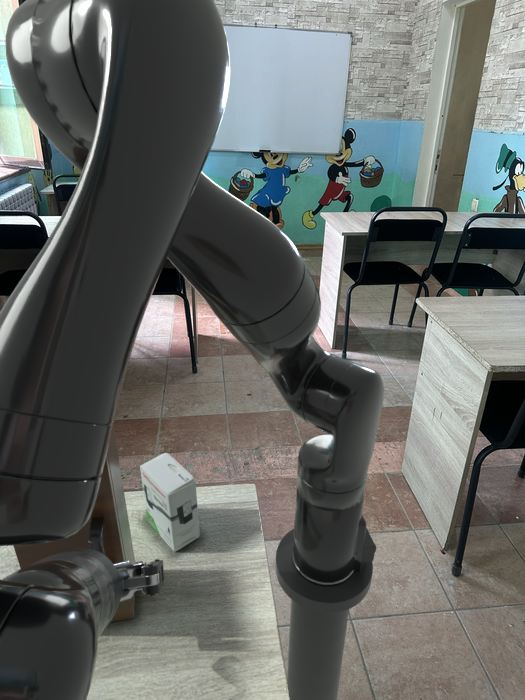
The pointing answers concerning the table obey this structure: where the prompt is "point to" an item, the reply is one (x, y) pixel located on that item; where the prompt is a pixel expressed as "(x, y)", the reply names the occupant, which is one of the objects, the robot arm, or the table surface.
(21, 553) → the cabinet door
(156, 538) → the table surface
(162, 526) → the ink box
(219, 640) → the table surface
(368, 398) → the robot arm
